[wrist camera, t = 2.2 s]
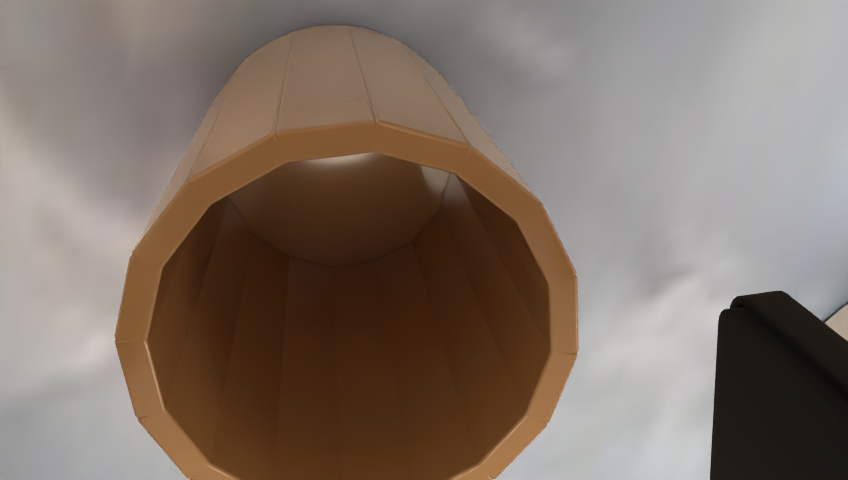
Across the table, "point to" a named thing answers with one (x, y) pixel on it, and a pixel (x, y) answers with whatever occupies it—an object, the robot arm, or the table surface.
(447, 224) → the wooden cup
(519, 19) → the table surface
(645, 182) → the table surface
